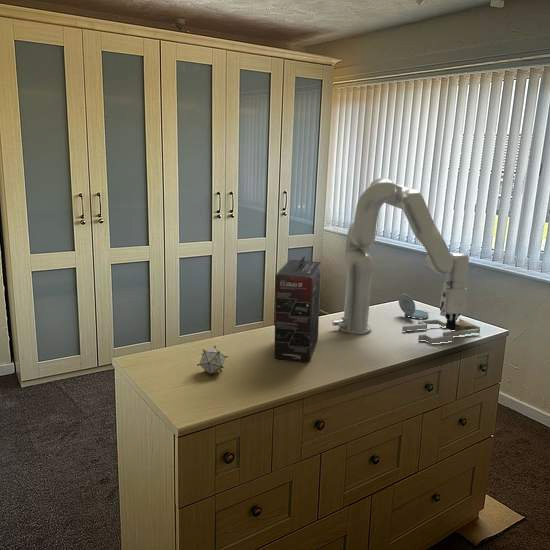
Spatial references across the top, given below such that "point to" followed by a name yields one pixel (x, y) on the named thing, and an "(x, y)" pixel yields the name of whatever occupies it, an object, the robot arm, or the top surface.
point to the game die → (212, 360)
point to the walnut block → (463, 326)
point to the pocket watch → (410, 307)
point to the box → (446, 335)
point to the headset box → (297, 310)
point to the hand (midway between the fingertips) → (450, 329)
